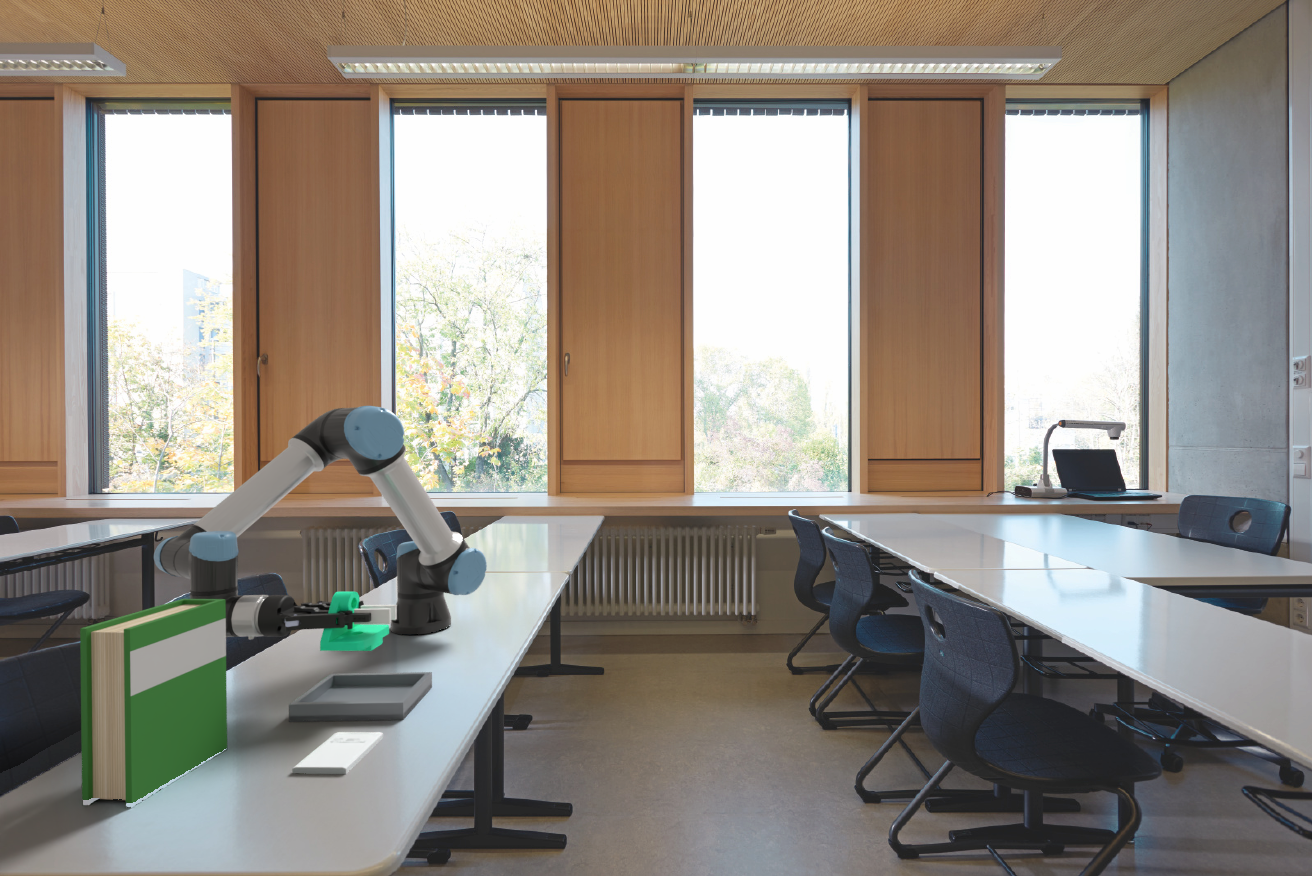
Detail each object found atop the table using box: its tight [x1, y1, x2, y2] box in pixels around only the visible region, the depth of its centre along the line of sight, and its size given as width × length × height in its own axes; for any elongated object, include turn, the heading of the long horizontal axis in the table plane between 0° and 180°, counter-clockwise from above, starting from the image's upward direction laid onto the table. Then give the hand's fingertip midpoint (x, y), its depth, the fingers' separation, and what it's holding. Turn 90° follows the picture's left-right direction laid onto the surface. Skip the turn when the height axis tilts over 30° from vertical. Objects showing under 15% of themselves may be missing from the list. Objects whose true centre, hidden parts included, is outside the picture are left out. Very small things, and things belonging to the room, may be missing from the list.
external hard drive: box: [291, 731, 384, 775], centre depth 108 cm, size 2×8×12 cm
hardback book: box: [79, 598, 228, 803], centre depth 102 cm, size 18×7×24 cm, turn 174°
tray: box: [288, 671, 433, 723], centre depth 129 cm, size 16×20×3 cm
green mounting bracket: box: [319, 591, 390, 652], centre depth 129 cm, size 12×8×10 cm, turn 178°
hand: (392, 614), depth 129 cm, fingers closed on green mounting bracket, 2 cm apart
